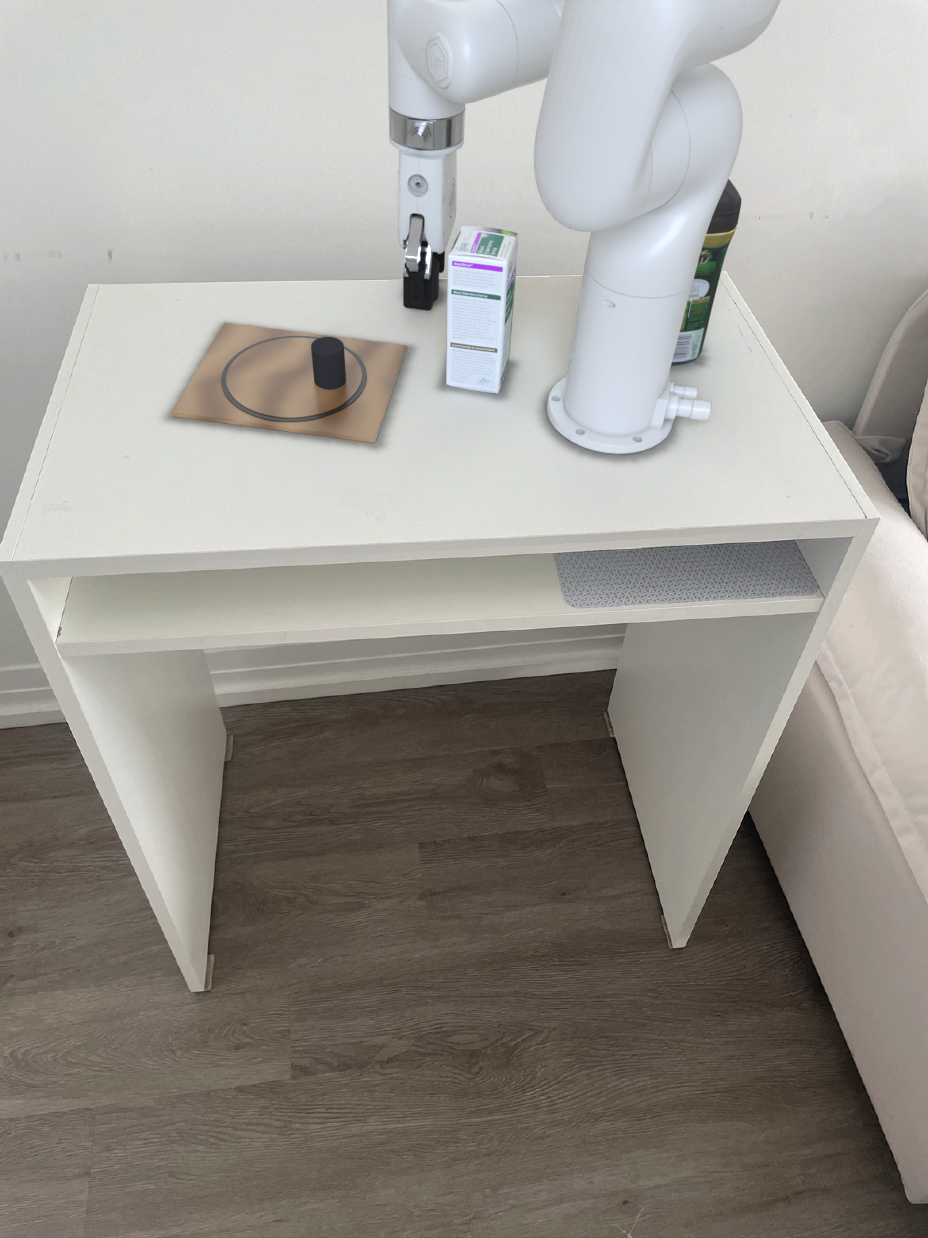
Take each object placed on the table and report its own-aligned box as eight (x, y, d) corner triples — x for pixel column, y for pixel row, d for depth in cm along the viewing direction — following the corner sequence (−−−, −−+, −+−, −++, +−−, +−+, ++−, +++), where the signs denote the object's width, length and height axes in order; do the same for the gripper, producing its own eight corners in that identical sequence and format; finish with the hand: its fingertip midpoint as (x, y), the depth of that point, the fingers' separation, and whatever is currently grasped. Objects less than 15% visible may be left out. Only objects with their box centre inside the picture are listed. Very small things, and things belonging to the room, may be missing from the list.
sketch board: (406, 349, 97) (406, 343, 96) (375, 443, 87) (374, 437, 86) (224, 326, 98) (223, 320, 98) (172, 416, 88) (170, 410, 87)
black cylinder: (440, 289, 105) (441, 257, 102) (436, 304, 103) (436, 271, 100) (413, 286, 105) (413, 253, 102) (408, 301, 103) (408, 267, 100)
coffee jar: (614, 320, 102) (647, 149, 88) (681, 318, 103) (725, 148, 89) (636, 371, 96) (675, 196, 82) (707, 368, 97) (759, 194, 83)
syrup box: (499, 395, 92) (511, 260, 81) (443, 386, 93) (447, 251, 82) (509, 363, 96) (522, 230, 85) (454, 355, 97) (460, 221, 85)
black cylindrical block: (349, 373, 92) (347, 338, 89) (341, 391, 90) (339, 356, 87) (318, 369, 93) (315, 334, 90) (310, 387, 91) (307, 352, 88)
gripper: (450, 166, 84) (444, 334, 98) (476, 94, 95) (467, 254, 109) (370, 157, 84) (376, 326, 98) (406, 87, 96) (406, 247, 109)
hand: (424, 287), depth 103 cm, fingers open, 7 cm apart
